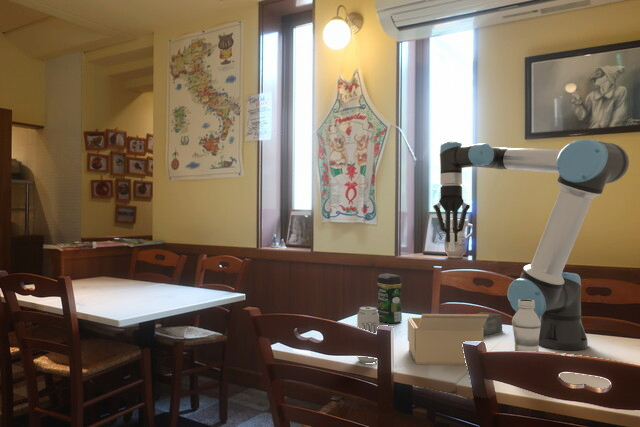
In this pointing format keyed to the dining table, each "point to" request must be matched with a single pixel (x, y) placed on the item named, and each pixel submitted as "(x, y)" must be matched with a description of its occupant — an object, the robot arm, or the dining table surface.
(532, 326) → the plastic bottle
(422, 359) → the kraft box
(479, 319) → the long flap
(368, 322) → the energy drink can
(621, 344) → the dining table surface
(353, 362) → the dining table surface
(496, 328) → the beverage carton
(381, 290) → the coffee jar
